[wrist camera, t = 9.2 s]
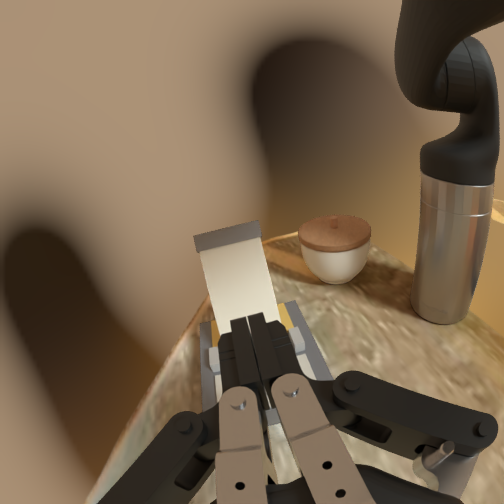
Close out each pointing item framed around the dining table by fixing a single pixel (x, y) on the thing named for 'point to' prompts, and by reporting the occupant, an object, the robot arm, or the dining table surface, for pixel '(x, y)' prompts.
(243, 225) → the lever
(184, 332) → the dining table surface
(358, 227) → the lidded jar
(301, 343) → the switch unit
